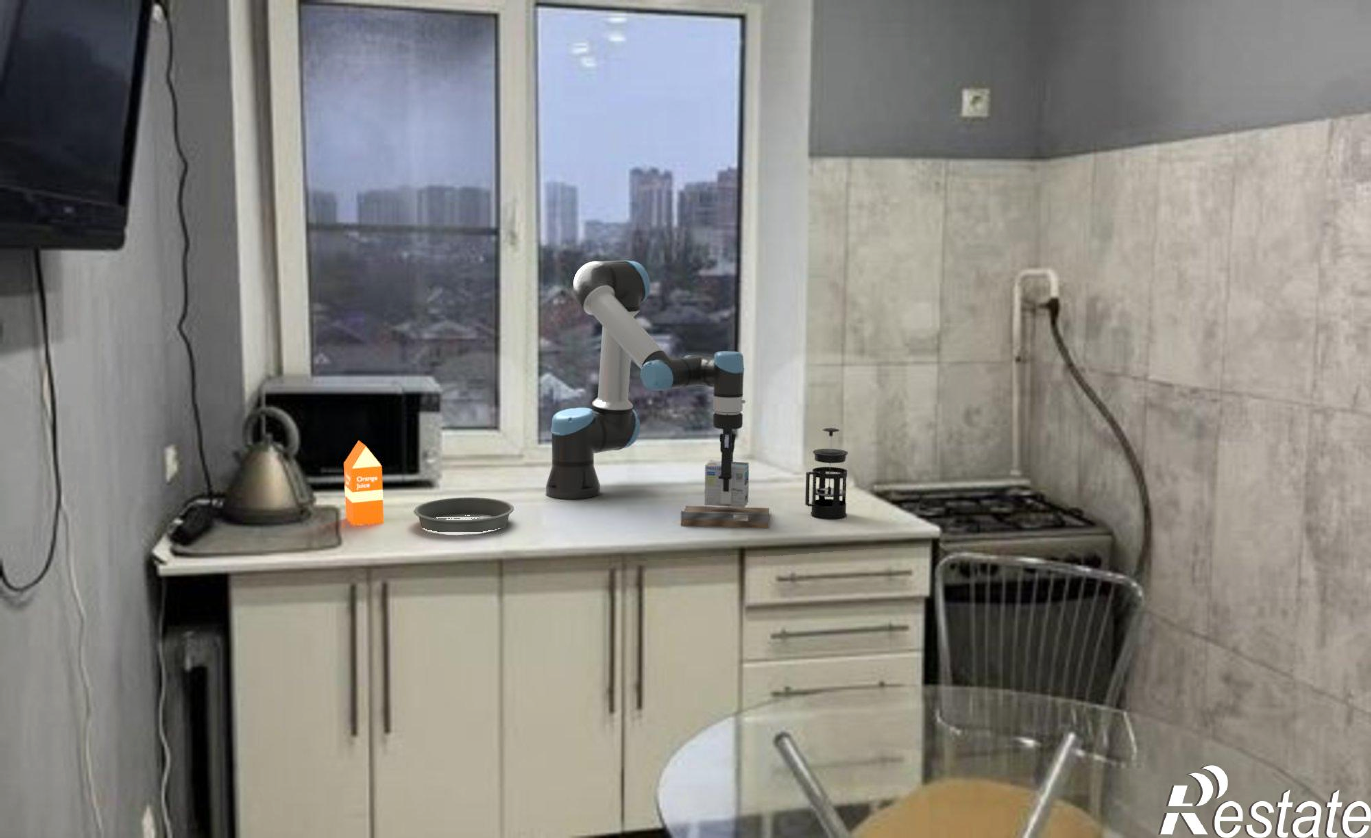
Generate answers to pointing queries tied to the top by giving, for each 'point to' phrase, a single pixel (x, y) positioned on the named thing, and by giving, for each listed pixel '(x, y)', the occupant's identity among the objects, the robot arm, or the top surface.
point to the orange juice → (363, 487)
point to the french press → (829, 506)
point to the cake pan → (463, 514)
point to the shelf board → (725, 516)
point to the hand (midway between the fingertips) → (726, 499)
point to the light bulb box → (738, 484)
